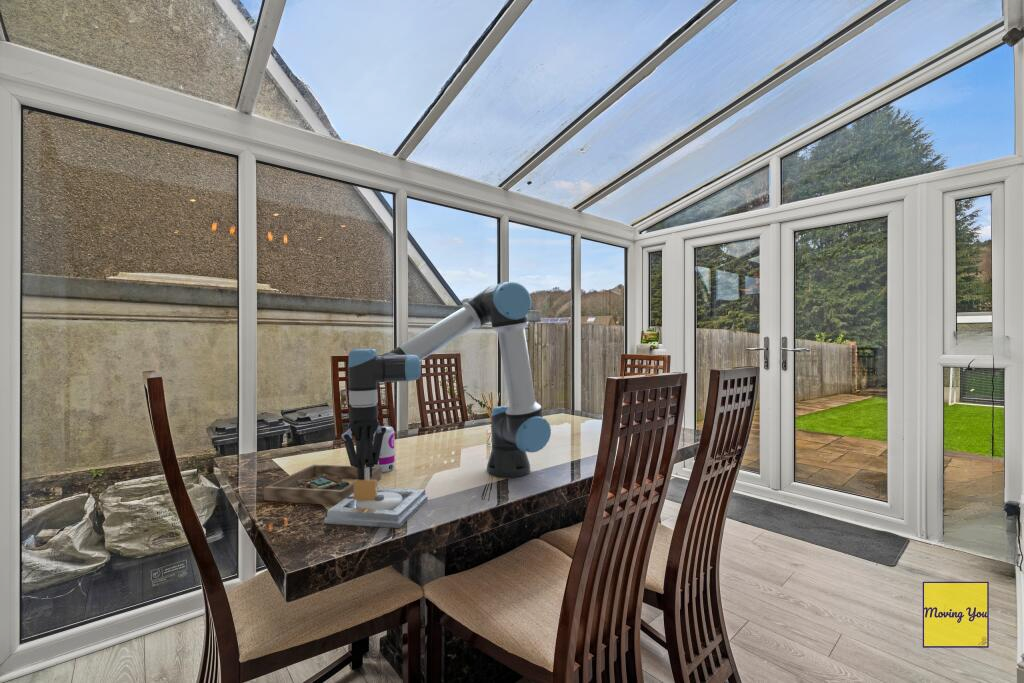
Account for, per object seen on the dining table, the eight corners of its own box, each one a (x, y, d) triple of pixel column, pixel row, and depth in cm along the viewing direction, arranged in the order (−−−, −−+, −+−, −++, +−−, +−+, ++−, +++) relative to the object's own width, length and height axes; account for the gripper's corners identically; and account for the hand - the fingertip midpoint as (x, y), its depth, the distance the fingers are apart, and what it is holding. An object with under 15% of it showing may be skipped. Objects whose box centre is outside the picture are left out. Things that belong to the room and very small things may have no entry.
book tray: (381, 479, 152) (381, 467, 152) (342, 506, 128) (342, 491, 128) (314, 476, 157) (314, 464, 157) (264, 501, 133) (263, 487, 132)
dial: (407, 497, 130) (407, 474, 130) (394, 513, 118) (394, 487, 118) (363, 497, 131) (362, 473, 131) (345, 513, 119) (345, 487, 119)
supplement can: (398, 467, 167) (397, 425, 166) (389, 474, 158) (389, 430, 158) (376, 466, 167) (375, 425, 167) (366, 473, 159) (366, 430, 159)
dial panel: (427, 499, 133) (427, 488, 133) (399, 528, 113) (399, 514, 113) (362, 496, 136) (362, 485, 136) (324, 523, 116) (324, 510, 116)
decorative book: (322, 482, 151) (321, 467, 151) (351, 493, 140) (351, 477, 140) (280, 493, 141) (280, 476, 141) (308, 506, 130) (308, 488, 130)
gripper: (376, 401, 134) (378, 481, 135) (334, 406, 125) (336, 493, 125) (391, 403, 129) (393, 487, 129) (348, 409, 120) (350, 500, 120)
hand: (365, 490), depth 127 cm, fingers closed
